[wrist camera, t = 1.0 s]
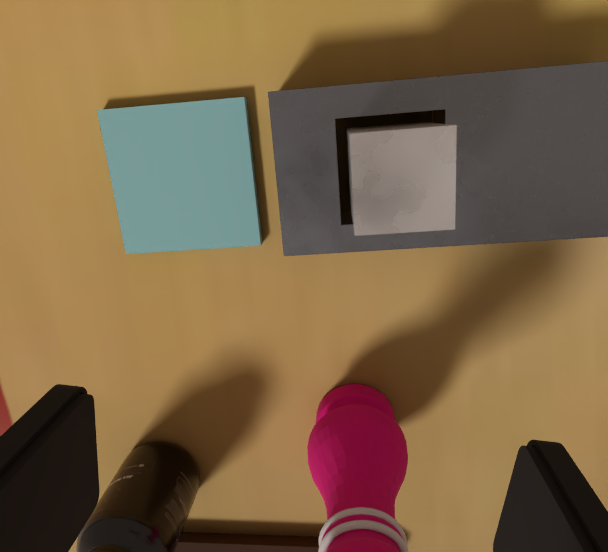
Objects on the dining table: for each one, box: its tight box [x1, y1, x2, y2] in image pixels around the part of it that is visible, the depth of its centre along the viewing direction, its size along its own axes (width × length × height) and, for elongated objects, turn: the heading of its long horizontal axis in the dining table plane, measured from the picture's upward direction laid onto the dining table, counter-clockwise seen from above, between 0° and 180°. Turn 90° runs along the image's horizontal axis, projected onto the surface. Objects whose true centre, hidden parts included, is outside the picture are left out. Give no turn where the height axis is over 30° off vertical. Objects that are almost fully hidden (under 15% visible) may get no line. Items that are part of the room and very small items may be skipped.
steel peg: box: [346, 122, 457, 236], centre depth 28 cm, size 5×5×10 cm
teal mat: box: [97, 97, 262, 254], centre depth 34 cm, size 10×10×1 cm
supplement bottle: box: [77, 442, 200, 552], centre depth 37 cm, size 7×7×12 cm
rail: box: [268, 61, 608, 256], centre depth 31 cm, size 20×10×4 cm, turn 95°
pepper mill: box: [308, 384, 408, 552], centre depth 30 cm, size 7×7×20 cm
